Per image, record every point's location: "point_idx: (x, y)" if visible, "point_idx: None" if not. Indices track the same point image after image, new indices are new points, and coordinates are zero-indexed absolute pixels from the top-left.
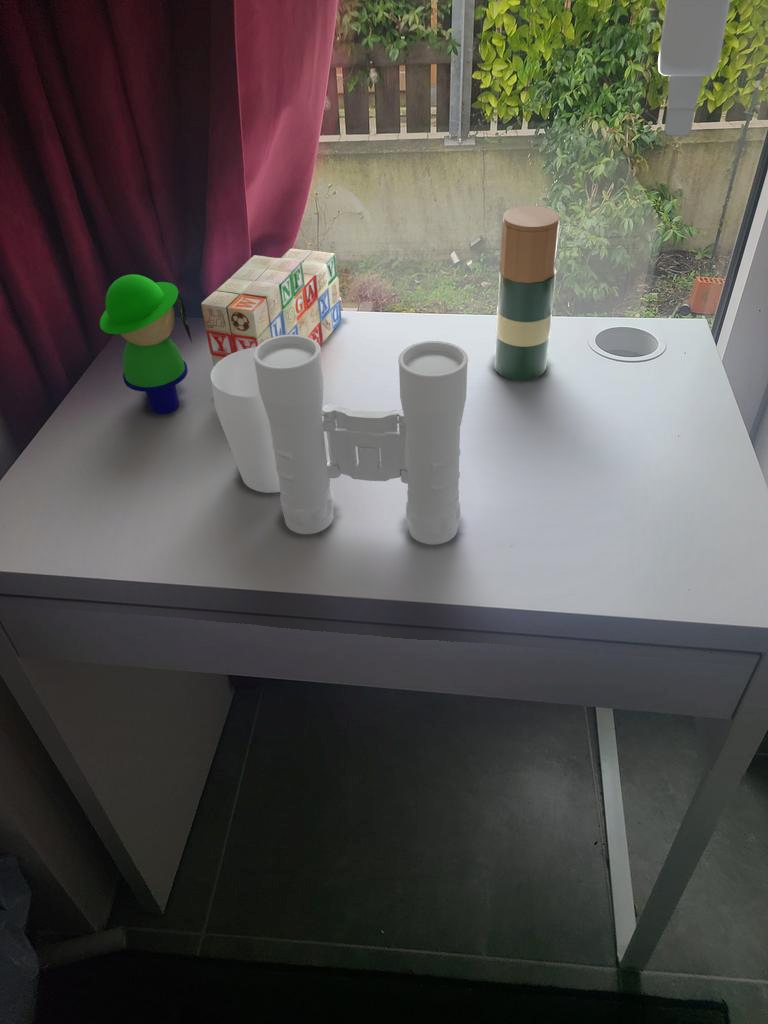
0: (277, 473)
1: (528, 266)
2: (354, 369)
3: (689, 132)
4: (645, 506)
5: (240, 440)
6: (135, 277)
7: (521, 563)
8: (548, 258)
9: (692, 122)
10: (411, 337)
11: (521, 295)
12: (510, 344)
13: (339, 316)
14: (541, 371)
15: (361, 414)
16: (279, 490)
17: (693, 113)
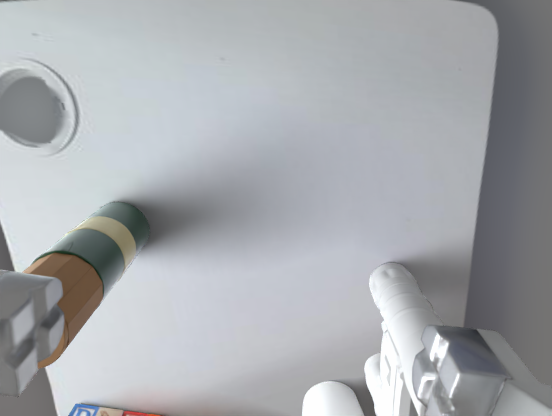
0: (361, 409)
1: (92, 297)
2: (162, 375)
3: (495, 331)
4: (347, 102)
5: None
6: None
7: (429, 210)
8: (72, 277)
9: (510, 348)
10: (88, 337)
11: (110, 281)
12: (134, 257)
13: (76, 409)
14: (132, 208)
15: (404, 406)
16: (355, 395)
17: (528, 371)
